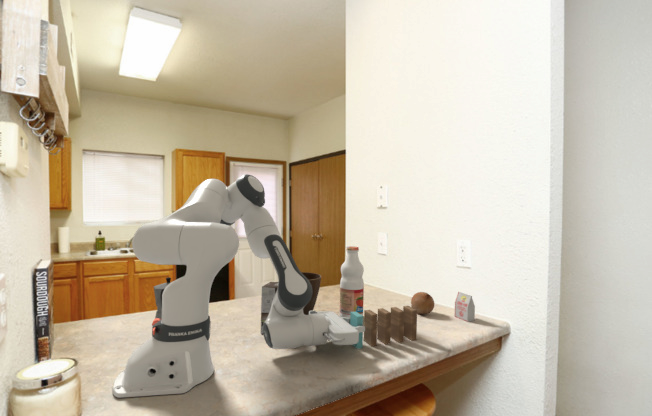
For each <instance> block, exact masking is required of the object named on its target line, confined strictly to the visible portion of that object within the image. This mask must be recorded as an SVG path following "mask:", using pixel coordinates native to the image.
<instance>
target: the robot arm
mask: <svg viewBox="0 0 652 416" xmlns="http://www.w3.org/2000/svg"><path fill="white" fill-rule="evenodd" d="M265 197H266V194H265V188H264V186H263V184H262V182H261V181H260V180H259V179H258V178H257V177H256V176H254V175H251V174H249V173H247V174H243V175H241V176H239V177H238V178H236V180H235V181H234V182H232V183H230V184H229V185H228V186H227V185H226V184H225V182H223V181H221V180H220V179H217V178H208V179H205V180H203V181H202V182H201V183H200V184H199V185H197V186H196V187H195V188H194V190H193V191H192V192H191V194H190V195H189V196H188V199H186V201H185V202H184V204H183V205H182V206H181V207H179V208H178V209H177V210H175V211H173V212H172V213H170V214H168V215H166V216H164V217H162V218H159V219H158V220H155V221H151V222H147V223H144V224H142V225H140V226H139V227H138V228H137V229H136V231H135V233H134V235H133V236H132V241H131V244H132V245H131V246H132V247H131V248H132V251H133V254H134V255H135V257H136V258H137V259H138V260H139V261H140V262H145V263H149V264H154V265H159V266H163V265H164V266H171V265H172V266H177V265H179V266H186V270H185V274H184V275H183V276H181V277H179V278H177V279H175V280H173V281H170V282H171V283H170V284H168V285H167V286H166V288H165V289H164V291H163V294H162V320H160V319H159V318H156V319H155V318H154V319H153V321H152V323H151V325H152V329H151V336H152V337H150V338H149V339H147V340H146V341H144V343H142V344H141V345H140V346H138V347H137V348H135V350H134V351H132V353H131V354H130V356H129V357H128V359H127V362H126V365H125V368H124V369H123V370H122V371H121V372H120V373H119V374H118V375H117V376H116V378H115V379H114V381H113V382H114V383H113V386H112V394H113V396H114V397H116V398H132V397H133V398H134V397H135V398H137V397H147V396H148V397H149V396H162V395H175V394H176V395H177V394H184V393H185V394H186V393H187V392H189V391H190V390H191V389H192V388H193V387H195V386H197V385H199V384H201V383H204V382H205V381H206V380H208V379H209V378H210V377H211V376H212V375H213V373H214V372H215V367H214V364H213V361H212V356H211V349H210V337H211V329H212V328H211V324H212V321H211V317H210V316H211V315H209V314H210V313H209V309H210V298H211V297H210V296H211V288H212V285H213V282H214V280H215V277H216V276H217V275H218V274H219V272H220V271H221V270H222V268H223V267H225V266H226V265H227V264H228V263H230V262H231V261H232V260H233V259H234V258H235V257H236V255H237V253H238V251H239V246H240V242H239V241H240V240H239V236H238V232H237V231H236V230H235V228H234V227H232V225H234V224H235V223H236V221H237V222H238V220H241V222H243V227H244V232H245V236H246V240H247V243H248V245H249V248H250V250H251V252H252V253H253V255H254V257H256V258H258V259H259V258H260V259H263V260H265V259H270V262H271V264H272V266H273V268H274V271H275V274H276V275H277V279H278V281H277V282H278V289H277V291H276V294H275V296H274V298H273V301H272V305H271V309H270V312H269V315H268V317H267V319H266V321H265V322H264V324H263V334H262V335H263V338H264V341H265V344H267V346H268V347H269V348H270V349H275V350H287V349H288V350H289V349H295V348H299V347H301V346H305V347H312V346H319V345H325V344H326V343H328V342H331V344H333V345H335V346H349V345H350V346H351V345H352V344H357V343H358V342H359V333H360V332H363V333H364V332H365V326H364V324H363V325H358V326H357V327H353V326H351V325H350V318H345V317H340V314H337V313H336V312H335V311H332V310H331V311H330V310H329V311H327V310H323V311H320V310H319V311H316V310H313V311H309V315H305V314H304V313H303V308H304V307H305V306H306V305H307V304H308V303H309V301H310V300H311V298H312V293H313V290H312V286H311V283H310V282H309V280H308V279H307V278H306V277H305V276H304V275H303V274H302V273H301V272H302V271H301V270H300V269H299V267H298V266H297V264H296V262H295V260H294V259H295V258H293V255H292V254H291V251H290V250H289V248H288V246H287V244H286V242H285V240H284V239H283V238H282V236H281V234H280V231H279V228H278V226H277V224H276V222H275V220H274V218H273V216H272V215H271V213H270V212H269V210H268V209H267V208H265V207H264V206H265V204H266V199H265Z"/></svg>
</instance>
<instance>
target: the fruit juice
mask: <svg viewBox="0 0 652 416" xmlns="http://www.w3.org/2000/svg"><path fill="white" fill-rule="evenodd" d="M345 249H346V258H345V260H344V262H343V263H342V264H341V265H340V273H341V278H340V281H339V316H340V317H345V318H350V313H351V312H358V313H359V314H361V315H362V316H363V317H364V293H365V291H364V287H365V285H364V284H365V282H364V278H363V275H364V266H363V264H362V262H361V261H360V258H359V251H360V249H359V246H346V248H345Z"/></svg>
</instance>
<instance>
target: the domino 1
mask: <svg viewBox="0 0 652 416" xmlns="http://www.w3.org/2000/svg"><path fill="white" fill-rule="evenodd" d="M377 323H378V313H376V312H374V311H373V310H371V309H363V326H365V332H363V342H364V343H366V344H367V345H368V346H370V347H371V348H373V347H377V344H378V339H377Z"/></svg>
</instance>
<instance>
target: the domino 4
mask: <svg viewBox="0 0 652 416" xmlns="http://www.w3.org/2000/svg"><path fill="white" fill-rule="evenodd" d="M402 307H403V309H402V310H403V311H404V337H405V338H406V339H408V340H409V341H411V342H413V341H417V340H418V339H417V337H418V336H417V334H418V331H417V330H418V329H417V328H418V327H417V326H418V323H417V322H418V313H417V310H416V309H414V308H412V307H411V306H409V305H404V306H402Z"/></svg>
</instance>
